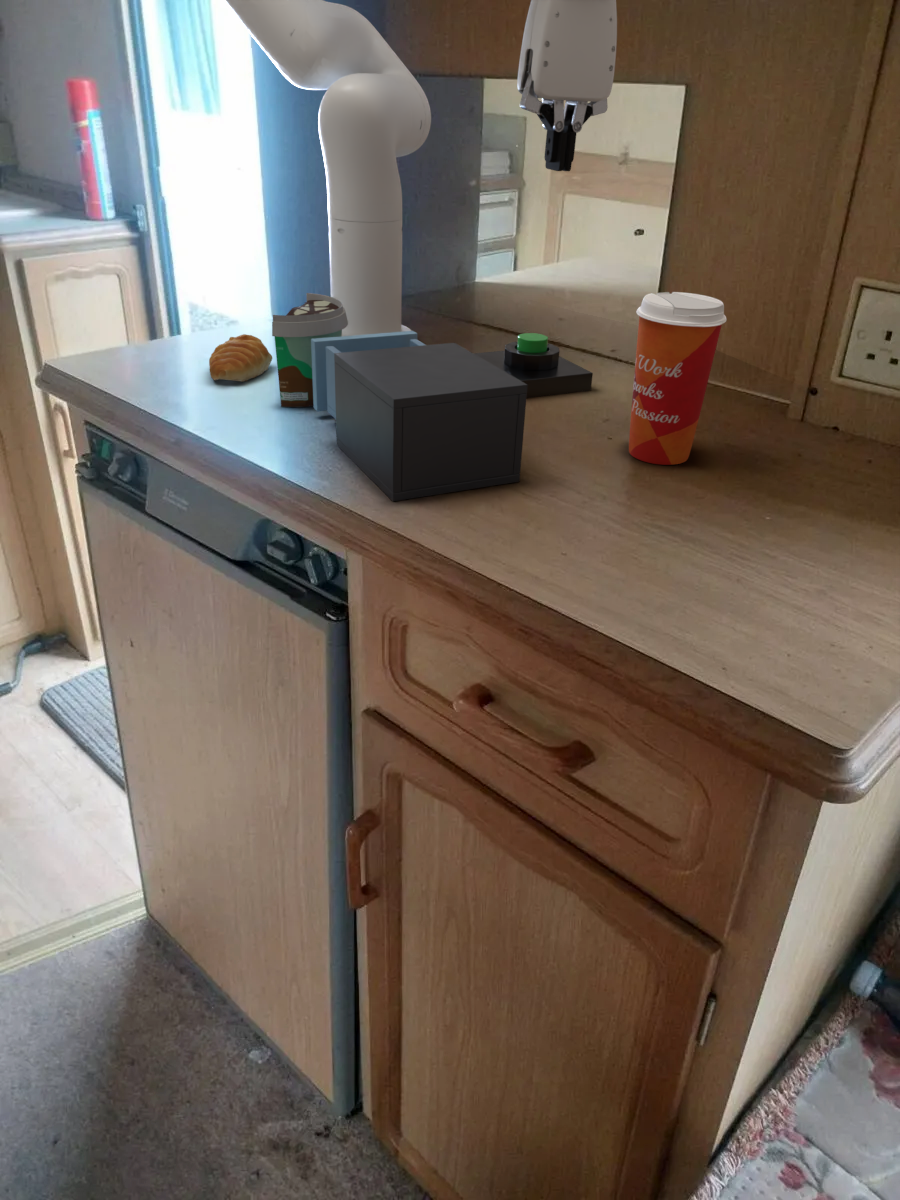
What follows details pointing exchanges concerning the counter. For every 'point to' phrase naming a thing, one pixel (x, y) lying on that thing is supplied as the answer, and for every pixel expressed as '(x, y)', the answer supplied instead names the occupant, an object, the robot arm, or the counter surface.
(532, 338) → the button
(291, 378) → the food container
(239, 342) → the pastry
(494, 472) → the dark grey box
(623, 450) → the counter surface
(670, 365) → the coffee cup
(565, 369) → the block
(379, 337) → the blue drawer
